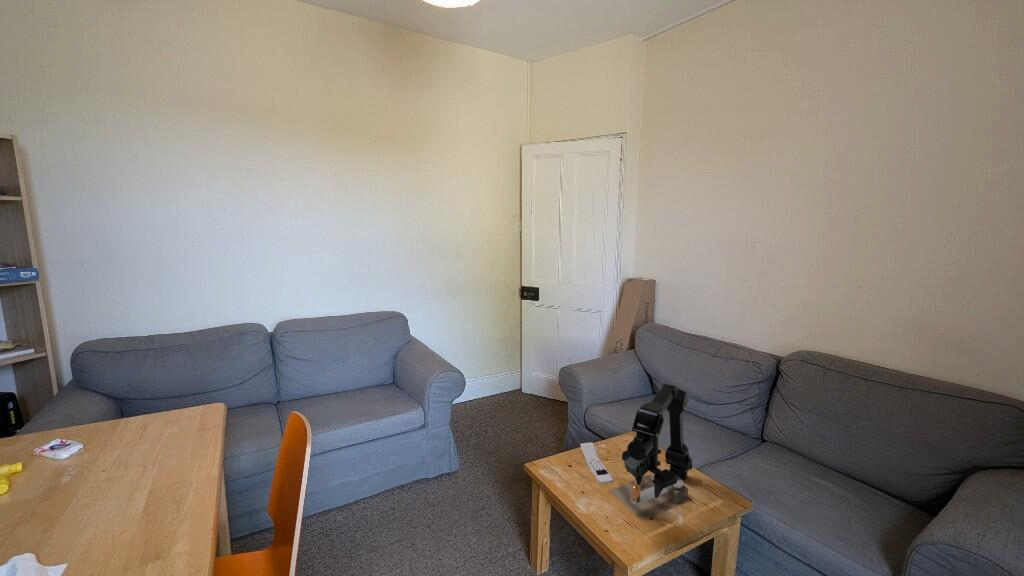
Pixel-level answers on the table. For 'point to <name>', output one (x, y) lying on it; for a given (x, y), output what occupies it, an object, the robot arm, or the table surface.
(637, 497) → the lever
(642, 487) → the beige ridged cylinder
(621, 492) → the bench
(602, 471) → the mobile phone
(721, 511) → the table surface
